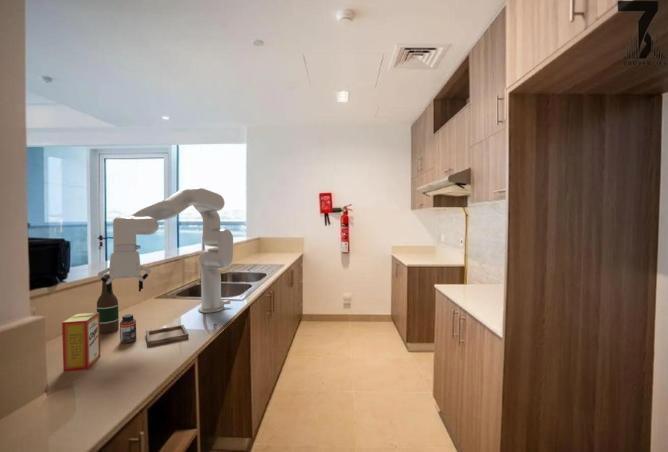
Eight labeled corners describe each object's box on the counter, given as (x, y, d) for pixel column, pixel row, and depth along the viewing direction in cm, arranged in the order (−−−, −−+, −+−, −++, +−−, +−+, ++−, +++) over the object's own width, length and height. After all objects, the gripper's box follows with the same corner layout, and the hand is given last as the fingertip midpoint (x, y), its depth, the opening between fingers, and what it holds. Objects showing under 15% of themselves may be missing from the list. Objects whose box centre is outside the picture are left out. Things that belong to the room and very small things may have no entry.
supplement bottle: (125, 338, 128) (124, 313, 127) (139, 338, 128) (138, 313, 128) (117, 344, 122) (116, 317, 122) (131, 343, 123) (131, 317, 122)
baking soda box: (87, 368, 103) (86, 319, 102) (63, 371, 101) (62, 321, 100) (100, 356, 112) (99, 311, 111) (78, 358, 110) (77, 312, 110)
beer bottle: (123, 329, 138) (121, 274, 137) (103, 335, 131) (102, 277, 130) (112, 326, 142) (110, 272, 141) (92, 332, 134) (91, 275, 134)
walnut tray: (183, 329, 138) (183, 324, 138) (188, 338, 128) (188, 333, 128) (145, 335, 131) (145, 331, 131) (148, 346, 120) (148, 341, 120)
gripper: (150, 247, 133) (150, 288, 133) (98, 249, 124) (99, 293, 124) (150, 248, 126) (151, 291, 127) (96, 250, 117) (97, 297, 118)
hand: (125, 292), depth 125 cm, fingers open, 9 cm apart
